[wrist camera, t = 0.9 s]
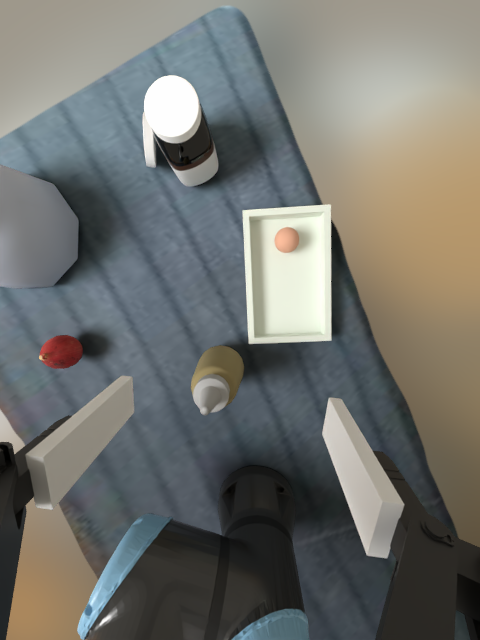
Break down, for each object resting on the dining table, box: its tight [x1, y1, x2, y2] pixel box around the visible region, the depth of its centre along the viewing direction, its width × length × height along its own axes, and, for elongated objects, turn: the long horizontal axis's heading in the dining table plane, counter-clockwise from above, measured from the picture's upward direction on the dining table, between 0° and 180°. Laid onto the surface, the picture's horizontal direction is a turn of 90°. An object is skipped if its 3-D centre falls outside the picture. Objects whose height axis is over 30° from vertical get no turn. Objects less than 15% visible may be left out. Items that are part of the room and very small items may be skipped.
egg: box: [274, 227, 299, 253], centre depth 38 cm, size 4×4×4 cm
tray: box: [243, 205, 331, 344], centre depth 40 cm, size 22×14×3 cm, turn 3°
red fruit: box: [39, 335, 83, 369], centre depth 40 cm, size 6×6×8 cm
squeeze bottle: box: [191, 345, 244, 415], centre depth 35 cm, size 8×8×18 cm
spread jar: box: [143, 75, 218, 186], centre depth 34 cm, size 12×11×12 cm
